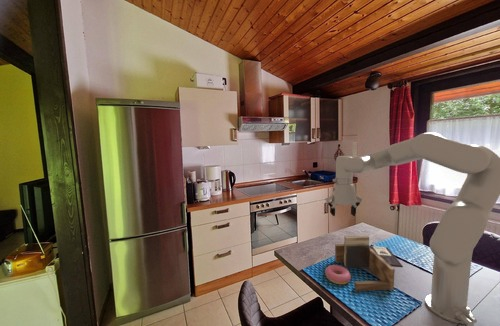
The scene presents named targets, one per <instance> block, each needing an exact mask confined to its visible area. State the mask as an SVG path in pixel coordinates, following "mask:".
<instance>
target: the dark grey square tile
mask: <svg viewBox="0 0 500 326" xmlns="http://www.w3.org/2000/svg"><path fill="white" fill-rule="evenodd" d="M370 246H371V245H370V244H369V245H363V246H346V267H345V268H346V269H370V268H369V261H370Z"/></svg>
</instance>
